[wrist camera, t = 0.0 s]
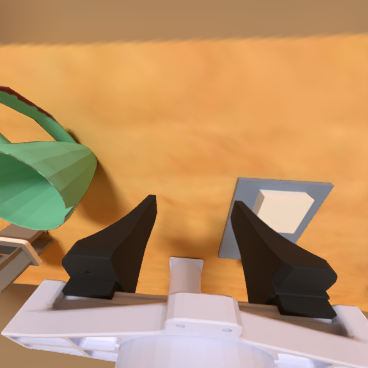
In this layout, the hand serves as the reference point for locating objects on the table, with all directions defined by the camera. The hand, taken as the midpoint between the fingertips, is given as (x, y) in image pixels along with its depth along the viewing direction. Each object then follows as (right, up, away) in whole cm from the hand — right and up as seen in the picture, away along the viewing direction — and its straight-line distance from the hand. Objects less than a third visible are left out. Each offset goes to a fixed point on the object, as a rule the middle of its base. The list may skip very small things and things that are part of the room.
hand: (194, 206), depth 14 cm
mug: (-17, +8, +8) cm, 21 cm away
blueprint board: (+14, -6, +14) cm, 21 cm away
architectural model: (-35, -8, +20) cm, 41 cm away
